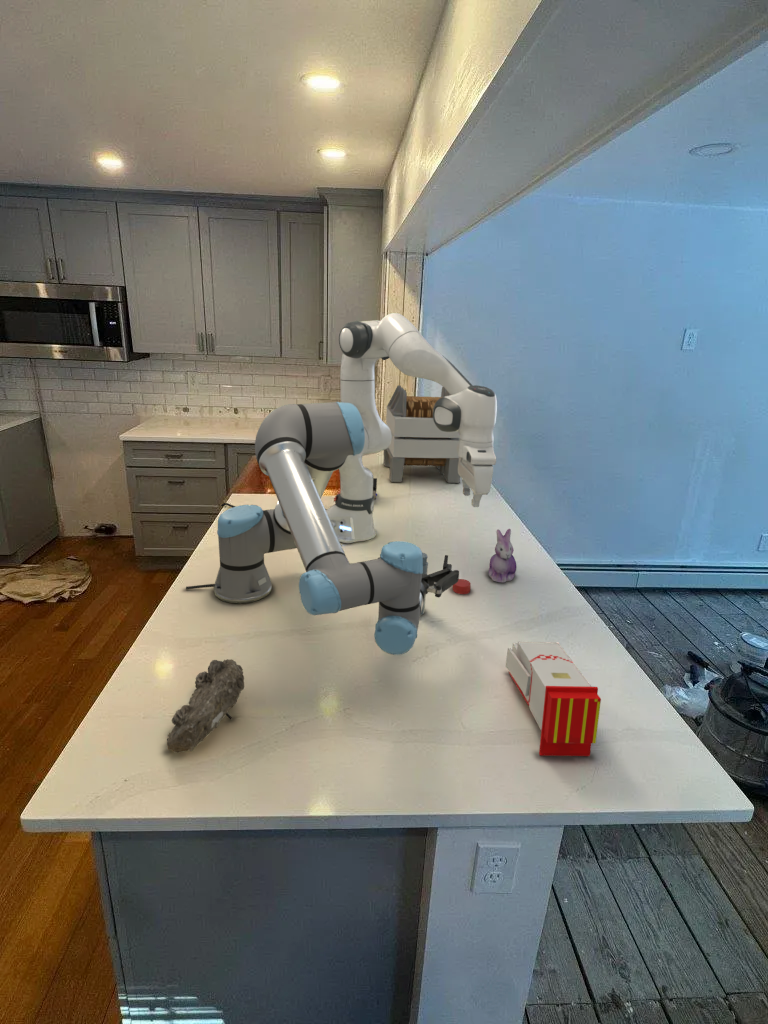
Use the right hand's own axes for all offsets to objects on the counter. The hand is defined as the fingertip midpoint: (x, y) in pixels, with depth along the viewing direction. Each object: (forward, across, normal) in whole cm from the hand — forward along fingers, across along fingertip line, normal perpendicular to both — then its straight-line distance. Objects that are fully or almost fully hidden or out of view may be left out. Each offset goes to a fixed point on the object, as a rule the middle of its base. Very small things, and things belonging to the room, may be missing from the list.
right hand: (470, 500), depth 152 cm
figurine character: (+27, -81, -20) cm, 87 cm away
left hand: (+8, +20, -17) cm, 27 cm away
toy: (+27, +50, +4) cm, 57 cm away
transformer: (+27, -120, +8) cm, 124 cm away
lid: (+25, 0, 0) cm, 25 cm away
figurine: (+27, -8, +14) cm, 32 cm away
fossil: (+27, +50, -61) cm, 83 cm away
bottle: (+27, +12, -15) cm, 33 cm away
